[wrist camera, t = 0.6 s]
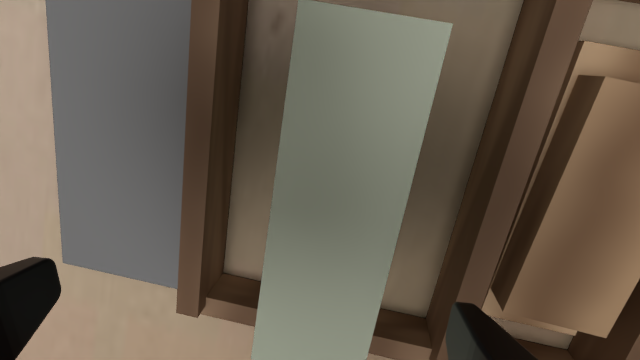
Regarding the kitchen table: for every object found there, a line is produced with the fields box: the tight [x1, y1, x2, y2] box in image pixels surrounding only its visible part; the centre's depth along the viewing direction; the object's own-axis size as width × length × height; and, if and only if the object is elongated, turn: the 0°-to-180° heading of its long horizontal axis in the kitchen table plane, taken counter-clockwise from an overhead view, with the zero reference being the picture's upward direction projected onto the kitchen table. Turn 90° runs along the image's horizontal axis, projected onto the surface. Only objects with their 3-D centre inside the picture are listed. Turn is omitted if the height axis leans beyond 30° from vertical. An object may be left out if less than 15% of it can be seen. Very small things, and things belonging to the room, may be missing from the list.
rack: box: [176, 0, 640, 360], centre depth 18 cm, size 23×20×4 cm
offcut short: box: [490, 75, 640, 338], centre depth 17 cm, size 5×11×2 cm, turn 168°
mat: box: [46, 0, 191, 289], centre depth 21 cm, size 8×19×1 cm, turn 171°
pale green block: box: [251, 0, 453, 360], centre depth 16 cm, size 4×12×9 cm, turn 171°
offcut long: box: [481, 41, 640, 336], centre depth 19 cm, size 5×14×2 cm, turn 170°
